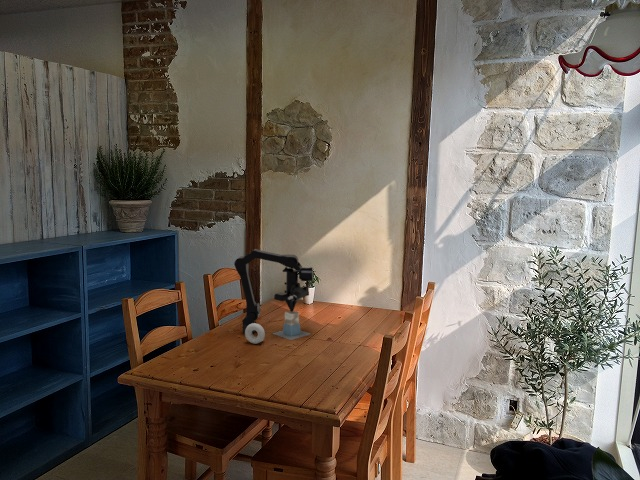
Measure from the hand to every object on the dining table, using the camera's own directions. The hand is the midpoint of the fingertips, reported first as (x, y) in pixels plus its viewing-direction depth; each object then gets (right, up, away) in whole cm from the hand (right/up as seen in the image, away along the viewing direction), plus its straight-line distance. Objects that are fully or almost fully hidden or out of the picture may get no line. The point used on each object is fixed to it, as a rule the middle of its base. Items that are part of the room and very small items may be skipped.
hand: (291, 311), depth 260 cm
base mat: (0, -12, +2) cm, 12 cm away
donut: (-17, -14, -11) cm, 25 cm away
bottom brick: (0, -11, +2) cm, 11 cm away
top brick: (0, -6, +1) cm, 6 cm away
